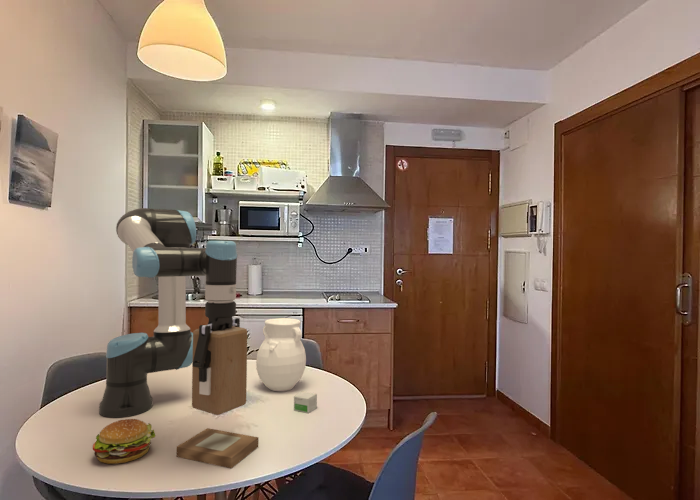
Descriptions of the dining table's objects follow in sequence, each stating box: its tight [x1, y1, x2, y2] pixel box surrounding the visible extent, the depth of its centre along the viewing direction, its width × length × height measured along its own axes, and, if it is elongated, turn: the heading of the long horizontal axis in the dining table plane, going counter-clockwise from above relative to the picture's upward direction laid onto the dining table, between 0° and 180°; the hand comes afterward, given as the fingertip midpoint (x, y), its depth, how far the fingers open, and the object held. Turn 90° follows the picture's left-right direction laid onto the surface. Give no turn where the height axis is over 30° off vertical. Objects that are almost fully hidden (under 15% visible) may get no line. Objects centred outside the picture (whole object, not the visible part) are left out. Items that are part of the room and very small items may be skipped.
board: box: [175, 427, 259, 469], centre depth 111 cm, size 16×12×3 cm
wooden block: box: [191, 326, 248, 416], centre depth 111 cm, size 10×10×20 cm
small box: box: [293, 390, 318, 414], centre depth 142 cm, size 6×6×5 cm
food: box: [92, 418, 156, 465], centre depth 110 cm, size 14×14×8 cm
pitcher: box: [255, 317, 307, 392], centre depth 164 cm, size 19×18×25 cm
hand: (219, 387), depth 111 cm, fingers closed on wooden block, 11 cm apart
